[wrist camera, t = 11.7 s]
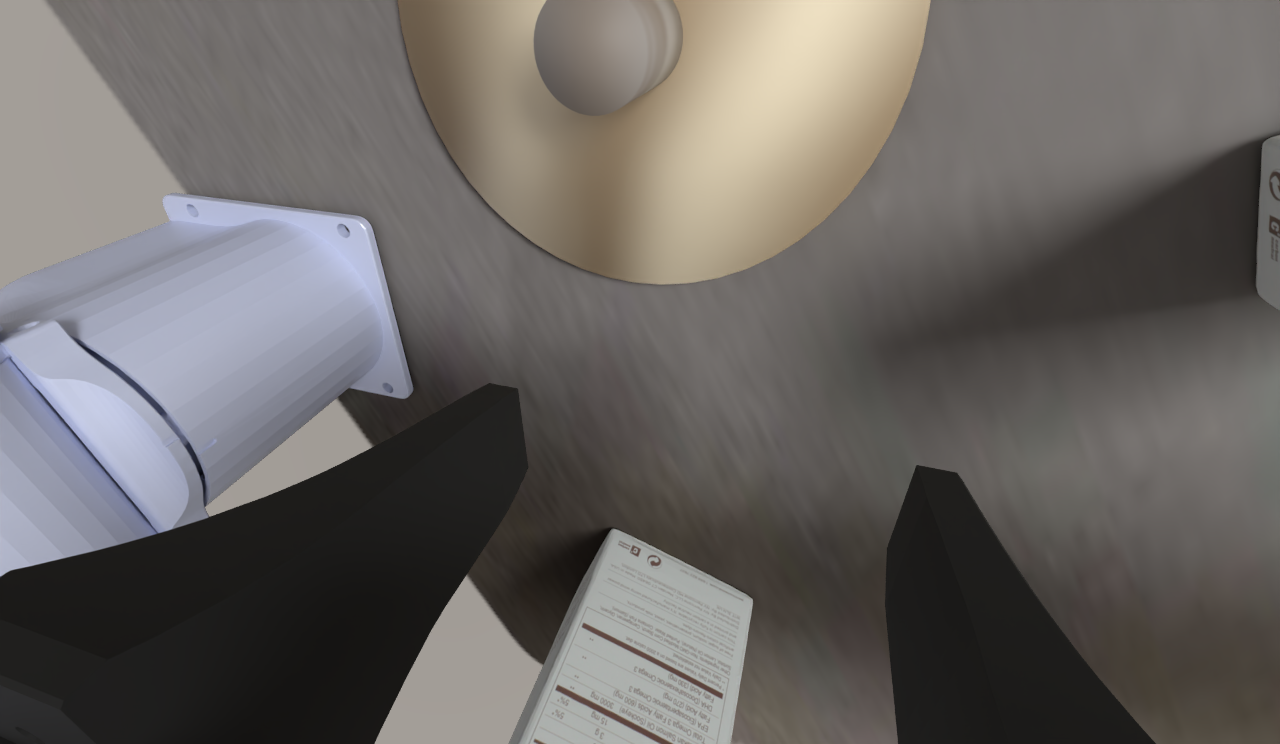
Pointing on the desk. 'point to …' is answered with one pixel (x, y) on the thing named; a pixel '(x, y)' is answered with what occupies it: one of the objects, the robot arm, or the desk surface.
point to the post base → (664, 119)
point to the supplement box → (641, 655)
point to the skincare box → (1269, 224)
